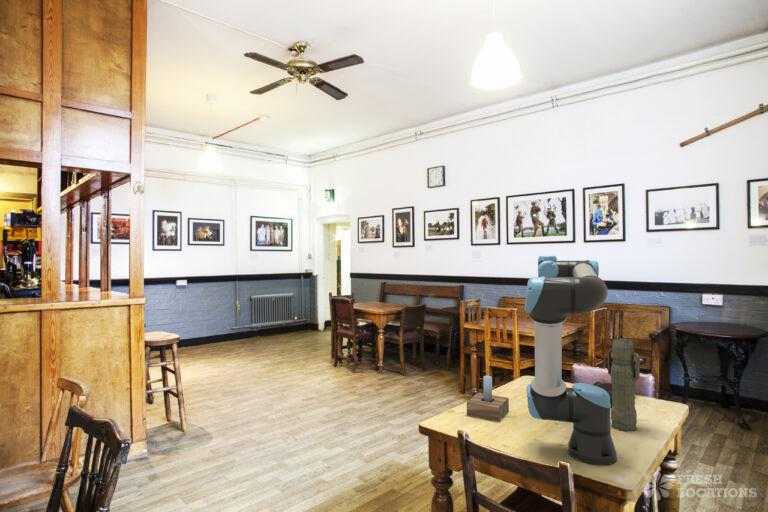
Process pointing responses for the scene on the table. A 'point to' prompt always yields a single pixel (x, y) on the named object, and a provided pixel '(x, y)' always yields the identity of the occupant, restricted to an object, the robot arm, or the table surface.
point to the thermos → (623, 383)
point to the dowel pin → (487, 388)
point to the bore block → (488, 407)
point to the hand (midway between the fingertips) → (548, 341)
